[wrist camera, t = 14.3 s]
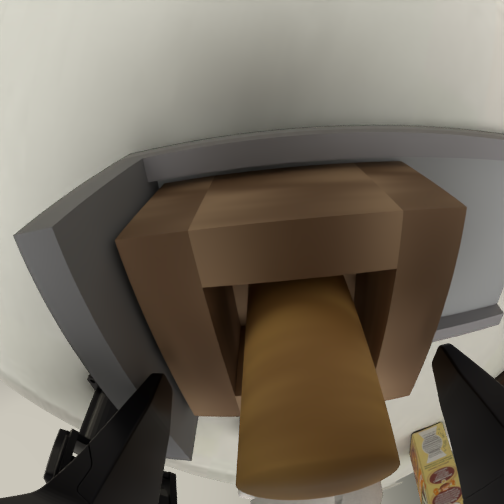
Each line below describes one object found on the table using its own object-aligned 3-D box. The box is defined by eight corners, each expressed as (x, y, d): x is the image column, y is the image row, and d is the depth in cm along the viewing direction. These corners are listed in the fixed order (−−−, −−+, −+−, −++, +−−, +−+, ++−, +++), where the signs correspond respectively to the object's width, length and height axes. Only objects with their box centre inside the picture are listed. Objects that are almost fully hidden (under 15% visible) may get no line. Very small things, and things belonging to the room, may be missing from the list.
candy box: (410, 433, 26) (434, 546, 13) (443, 419, 25) (473, 530, 12) (408, 453, 30) (426, 545, 17) (436, 443, 30) (457, 533, 16)
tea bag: (338, 453, 28) (345, 528, 20) (376, 456, 30) (386, 522, 21) (318, 463, 30) (323, 533, 21) (356, 466, 31) (364, 529, 23)
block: (208, 340, 17) (194, 415, 12) (164, 183, 12) (114, 240, 8) (383, 324, 16) (409, 395, 12) (401, 161, 11) (467, 206, 7)
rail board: (187, 344, 19) (162, 457, 12) (129, 154, 13) (13, 235, 6) (486, 306, 17) (537, 389, 10) (523, 137, 11) (626, 192, 4)
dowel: (254, 313, 15) (248, 502, 7) (242, 239, 13) (219, 464, 5) (337, 305, 14) (379, 487, 6) (340, 230, 12) (422, 439, 4)
